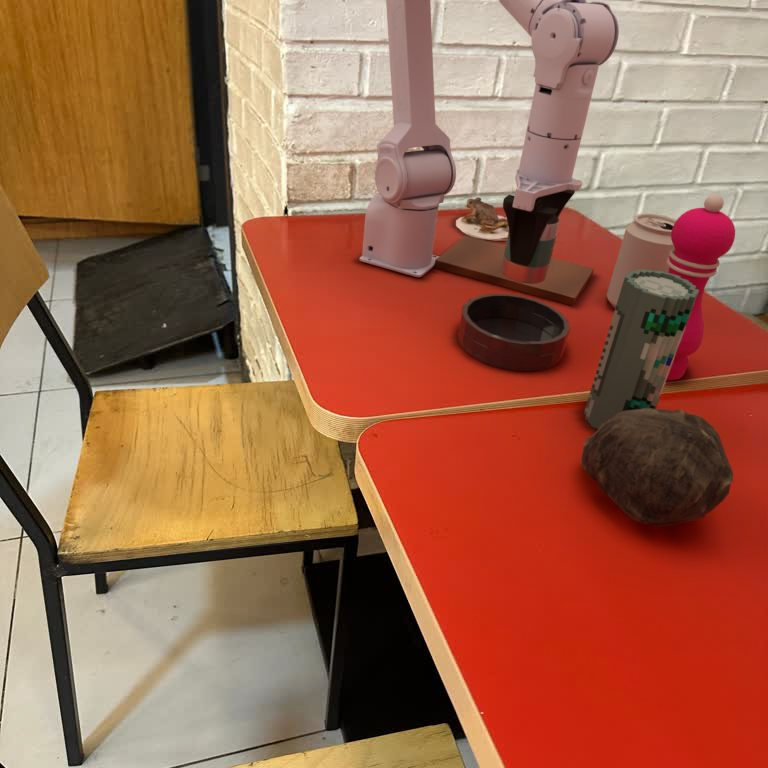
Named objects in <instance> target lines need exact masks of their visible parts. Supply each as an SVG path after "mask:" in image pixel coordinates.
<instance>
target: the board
mask: <svg viewBox="0 0 768 768" xmlns="http://www.w3.org/2000/svg"><path fill="white" fill-rule="evenodd" d="M505 247H506V245H503V244H500V243H496V242H492V241H489V240H486V239H480V238H474V237H471V236H469V235H464V236H462V237H461V238H460V239H459V240H458V241H456V242H455V243H454V244H453V245H451V247H449V248H448V249H447V250H445V251H444V252H443V253H441V255H438V256H439V257H438V258H437V259H436V260H435V265H434V267H433V268H434V269H437V270H442V271H445V272H449V273H452V274H455V275H460V276H462V277H466V278H470V279H474V280H477V281H481V282H485V283H488V284H491V285H494V286H495V285H496V286H500V287H503V288H506V289H509V290H514V291H517V292H521V293H525V294H528V295H532V296H534V297H538V298H542V299H546V300H550V301H553V302H557V303H561V304H564V305H568V306H571V307H574V305H575V304H576V302H577V301H578V299H579V298H580V296H581V294H582V293H583V292H584V290H585V288H586V286H587V285H588V283H589V282H590V280H591V279H592V277H593V274H594V271H595V268H593V267H590V266H586V265H582V264H578V263H573V262H570V261H566V260H562V259H558V258H554V257H551V260H550V263H549V266H548V270H547V275H546V279H545V280H544V281H543V282H540V283H535V284H528V283H521V282H516V281H513V280H511V279H509V278H507V277H505V276H504V275H503V274H502V272H501V269H502V264H503V259H504V252H505Z"/></svg>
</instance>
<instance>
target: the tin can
mask: <svg viewBox="0 0 768 768" xmlns="http://www.w3.org/2000/svg"><path fill="white" fill-rule="evenodd" d="M559 224H560V218H559V217H557V216H555V215H554V216H553V217H552V218H551V220H550V221H549V223H548V224H547V226H546V228H545V230H544V232H543V234H542V236H541V238H540V241H539V244H538V246H537V249H536V252H535V254H534V256H533V259H532V260H531V262H530V264H529V265H528V266H525V265H521V264H518V263H514V262H511V260H510V236H509V232H508V237H507V241H505V246H506V247H505V252H504V259H503V264H502V269H501V272H502V274H503V275H504V276H505V277H507V278H509V279H511V280H513V281H516V282H521V283H528V284H535V283H540V282H543V281H544V280H545V279H546V275H547V270H548V266H549V263H550V260H551V258H552V256H553V251H554V247H555V243H556V238H557V233H558V228H559Z"/></svg>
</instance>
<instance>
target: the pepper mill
mask: <svg viewBox="0 0 768 768" xmlns="http://www.w3.org/2000/svg"><path fill="white" fill-rule="evenodd" d="M724 203H725V202H724V199H723V197H722V196H721V195H719V194H710V195H708V196H707V197H706V198H705V200H704V202H703V206H704V207H695V208H691V209H689V210H687V211H685V212H683V213H682V214H681V215H679V217H678V218H677V219H676V220H677V221H676V222H675V224H674V226H673V228H672V232H671V240H672V243H673V245H674V247H675V249H672V250H671V251H670V253H669V255H670V256H669V258H668V259H667V265H668V266H669V272H668V273H670V274H674V275H677V276H681V277H680V278H682V279H686V280H689V282H690V283H693V284H692V285H695V286H696V288H695V289H697V290H699V293H698V295H697V298H696V301H695V303H694V306H693V309H692V312H691V314H690V317H689V320H688V322H687V325H686V328H685V331H684V333H683V336H682V339H681V341H680V344H679V347H678V350H677V352H676V355H675V358H674V360H673V363H672V366H671V369H670V371H669V374H668V377H667V379H666V381H676V380H680V379H681V378H682V377H683V376H684V375H685V374H686V370H687V368H688V365H689V357H690V356H691V355H693V354H694V353H696V352H697V351H698V349H699V348H700V347H701V345H702V341H703V339H704V338H703V337H704V329H705V325H704V317H703V307H702V302H703V296H704V292H705V288H706V286H707V284H708V282H709V280H710V278H712V277H714V276H716V274H717V269H718V267H719V266H720V264H721V262H720V260H719V259H720V258H721V257H722V256H724V255H726V254H727V253H728V252H730V250H731V249H732V247H733V245H734V243H735V239H736V228H735V224H734V221H732V219H731V218H730V217H729V216H728V215H727V214H725V213H724V212H722V211H721V210H722V209H723V206H724V205H725V204H724ZM688 356H689V357H688Z"/></svg>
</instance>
